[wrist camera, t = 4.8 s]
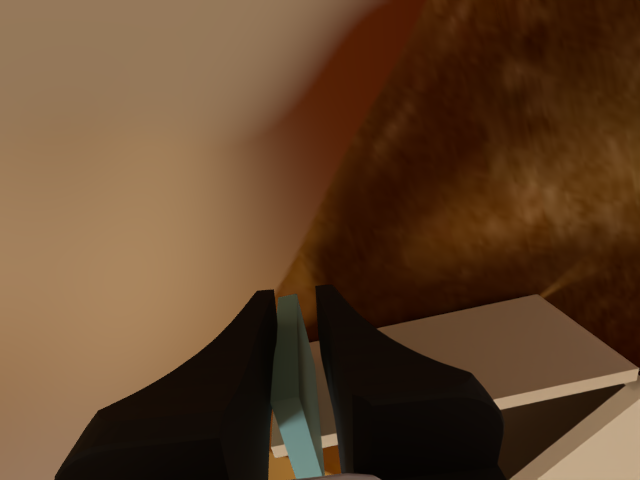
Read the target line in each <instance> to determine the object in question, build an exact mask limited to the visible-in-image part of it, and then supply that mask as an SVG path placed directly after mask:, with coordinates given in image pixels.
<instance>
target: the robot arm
mask: <svg viewBox="0 0 640 480" xmlns="http://www.w3.org/2000/svg"><path fill="white" fill-rule="evenodd" d="M315 287H316V303H317V320H318V335H319V344H320V353H321V359H322V364H323V368H324V373H325V377H326V381H327V386H328V390H329V395H330V399H331V404H332V408H333V413H334V419H335V425H336V433H337V441H338V449H339V457H340V465H341V473H342V474H336V475H327V476H319V477H310V478H302V479H293V480H507V479H506V477H505V476H504V474H503V472H502V471H501V469H500V467H499V466H498V459H499V455H500V450H501V446H502V441H503V436H504V427H505V421H504V418H503V415H502V412H501V410H500V409H499V407H498V406H497V405H496V403H495V402H494V400H493V399H492V398H491V396H490V395H489V393H488V392H487V391H486V389H485V388H484V387H483V386H482V385H481V383H480V382H479V381H478V380H477V379H476V378H475V376H474V375H473V374H472V373H471V372H468V371H465V370H462V369H459V368H456V367H453V366H450V365H447V364H444V363H441V362H439V361H436V360H434V359H431V358H429V357H427V356H424V355H422V354H420V353H418V352H416V351H414V350H411V349H409V348H408V347H406V346H404V345H402V344H400V343H398V342H397V341H395V340H393V339H392V338H390V337H388V336H387V335H385V334H384V333H382V332H381V331H379V330H378V329H376V328H375V327H374V326H372V325H371V324H370V323H369V322H368V321H366V320H365V319H364V318H363V317H362V316H361V315H360V314H359V313H357V312H356V311H355V310H354V309H353V308H352V307H351V306H350V305H349V303H348V302H347V301H346V300H345V299H344V298H343V297H342V296H341V295H340V293H339V292H338V291H337V290H336V288H335V287H334V286H333V285H321V286H315ZM277 329H278V322H277V313H276V304H275V296H274V289H273V290H261V291H257V292H256V293H255V294H254V295H253V296H252V298H251V299H250V300H249V302H248V303H247V304H246V305H245V307H244V308H243V309H242V310H241V311H240V313H239V314H238V315H237V316H236V317H235V319H234V320H233V321H232V322H231V323H230V324H229V325H228V326H227V327H226V328H225V329H224V330H223V331H222V332H221V333H220V334H219V335H218V336H217V337H216V339H214V340H213V341H212V342H211V343H210V344H208V345H207V346H206V347H205V348H204V349H202V350H201V351H200V352H199V353H198V354H196V355H195V356H193V357H192V358H191V359H189V360H188V361H186V362H185V363H183V364H182V365H181V366H179V367H178V368H176V369H175V370H173V371H172V372H170V373H169V374H167V375H166V376H164V377H162V378H161V379H159V380H157V381H156V382H154V383H152V384H151V385H149V386H147V387H145V388H143V389H141V390H139V391H138V392H136V393H134V394H132V395H130V396H128V397H126V398H124V399H122V400H120V401H117V402H116V403H113V404H111V405H110V406H107V407H105V408H103V409H101V410H98V412H97V413H96V414H95V416H94V417H93V418H92V420H91V421H90V423H89V424H88V425H87V427H86V428H85V430H84V431H83V433H82V435H81V436H80V438H79V439H78V441H77V442H76V444H75V445H74V447H73V448H72V450H71V451H70V453H69V455H68V456H67V458H66V459H65V461H64V462H63V464H62V466H61V467H60V469H59V470H58V472H57V474H56V475H55V480H268V468H269V440H270V423H271V413H272V406H271V403H270V400H271V387H272V374H273V361H274V353H275V348H276V343H277Z"/></svg>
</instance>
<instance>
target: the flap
mask: <svg viewBox="0 0 640 480" xmlns="http://www.w3.org/2000/svg"><path fill="white" fill-rule="evenodd" d="M277 322H278V329H277V343H276V348H275V353H274V361H273V374H272V387H271V400H270V403H271V406H272V409H273V426H272V442H271V448H272V451H273V454H274V456H275V458H277V457H282V456H287V455H288V456H289V459H290V462H291V464H292V468H293V470H294V473H295V476H296V479H302V478H310V477H319V476H325V473H324V462H323V450H322V448H324V447H329V446H333V445H338V441H337V433H336V425H335V419H334V413H333V408H332V404H331V399H330V395H329V390H328V386H327V381H326V377H325V373H324V368H323V364H322V359H321V353H320V344H319V341H315V342H310V343H309V340H308V337H307V333H306V329H305V325H304V321H303V317H302V313H301V309H300V305H299V302H298V298H297V294H294V295H289V296H284V297H280V298H278V310H277ZM376 329H378V330H379V331H381V332H382V333H384V334H385V335H387V336H388V337H390V338H392V339H393V340H395V341H397V342H398V343H400V344H402V345H404V346H406V347H408V348H409V349H411V350H414V351H416V352H418V353H420V354H422V355H424V356H427V357H429V358H431V359H434V360H436V361H439V362H441V363H444V364H447V365H450V366H453V367H456V368H459V369H462V370H465V371H468V372H471V373H472V374H473V375H474V376H475V378H476V379H477V380H478V381H479V382H480V383H481V385H482V386H483V387H484V388H485V389H486V391H487V392H488V393H489V395H490V396H491V398H492V399H493V400H494V402H495V403H496V405H497V406H498V407H499V409H500V410H501V409H506V408H511V407H515V406H520V405H525V404H529V403H534V402H539V401H543V400H548V399H553V398H557V397H562V396H567V395H571V394H576V393H581V392H585V391H590V390H595V389H599V388H604V387H609V386H613V385H618V384H623V383H627V382H632V381H637V376H638V372H639V368H638V367H637V366H635V365H634V364H633V363H631V362H630V361H628V360H627V359H626V358H624V357H623V356H622V355H620V354H619V353H617V352H616V351H615V350H613V349H612V348H611V347H609V346H608V345H606V344H605V343H604V342H602V341H601V340H600V339H598V338H597V337H595V336H594V335H593V334H591V333H590V332H589V331H587V330H586V329H584V328H583V327H582V326H580V325H579V324H578V323H576V322H575V321H574V320H572V319H571V318H569V317H568V316H567V315H565V314H564V313H563V312H561V311H560V310H558V309H557V308H556V307H554V306H553V305H552V304H550V303H549V302H547V301H546V300H545V299H543V298H542V297H541V296H539V295H538V294H535V295H531V296H526V297H521V298H517V299H512V300H507V301H503V302H498V303H493V304H489V305H484V306H479V307H475V308H470V309H465V310H460V311H456V312H451V313H446V314H442V315H437V316H432V317H428V318H423V319H418V320H414V321H409V322H404V323H400V324H395V325H390V326H385V327H381V328H376Z"/></svg>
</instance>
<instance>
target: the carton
mask: <svg viewBox="0 0 640 480" xmlns="http://www.w3.org/2000/svg"><path fill="white" fill-rule="evenodd" d="M501 412H502V415H503V418H504V421H505V427H504V436H503V441H502V446H501V450H500V455H499V459H498V466H499V467H500V469H501V471H502V472H503V474H504V476H505V477H506V479H507V480H640V376H639V375H638V376H637V381H632V382H627V383H623V384H618V385H613V386H609V387H604V388H599V389H595V390H590V391H585V392H581V393H576V394H571V395H567V396H562V397H557V398H553V399H548V400H543V401H539V402H534V403H529V404H525V405H520V406H515V407H511V408H506V409H501Z"/></svg>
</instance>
